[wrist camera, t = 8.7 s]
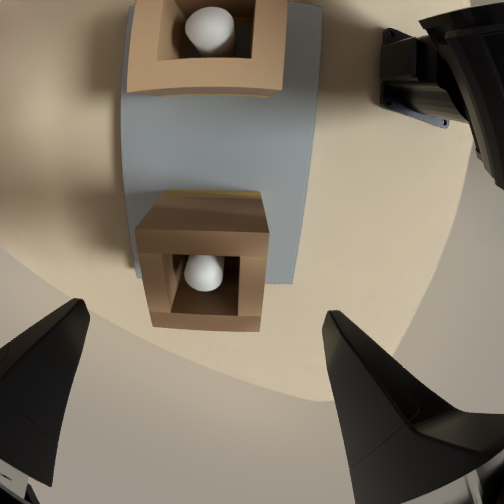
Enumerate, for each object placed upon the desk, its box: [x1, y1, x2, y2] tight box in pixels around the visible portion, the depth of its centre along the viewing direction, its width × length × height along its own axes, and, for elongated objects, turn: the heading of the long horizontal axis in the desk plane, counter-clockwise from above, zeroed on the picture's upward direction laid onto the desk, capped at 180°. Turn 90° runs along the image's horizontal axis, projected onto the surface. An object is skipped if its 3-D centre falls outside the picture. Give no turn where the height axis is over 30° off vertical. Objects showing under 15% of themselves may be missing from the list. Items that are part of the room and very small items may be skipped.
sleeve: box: [134, 190, 270, 332], centre depth 16 cm, size 6×6×6 cm
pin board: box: [121, 0, 323, 291], centre depth 13 cm, size 20×12×7 cm, turn 176°
